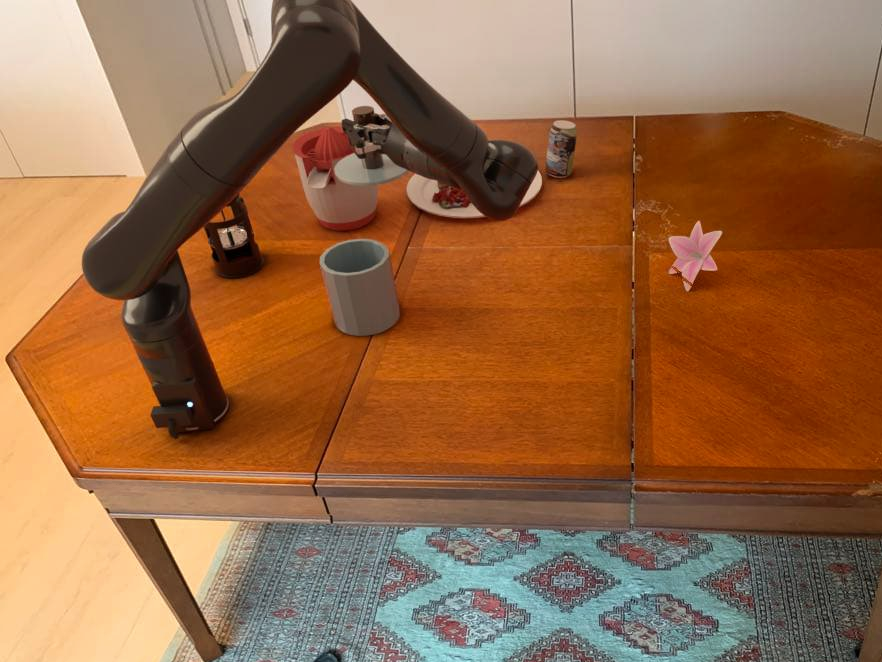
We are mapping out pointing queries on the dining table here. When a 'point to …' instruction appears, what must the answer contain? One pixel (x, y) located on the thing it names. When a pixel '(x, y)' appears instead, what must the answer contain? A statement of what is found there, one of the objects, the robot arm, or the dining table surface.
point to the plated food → (452, 197)
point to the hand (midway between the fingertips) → (354, 121)
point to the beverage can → (561, 148)
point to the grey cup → (360, 286)
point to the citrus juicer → (332, 181)
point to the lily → (694, 253)
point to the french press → (234, 243)
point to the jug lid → (367, 160)
